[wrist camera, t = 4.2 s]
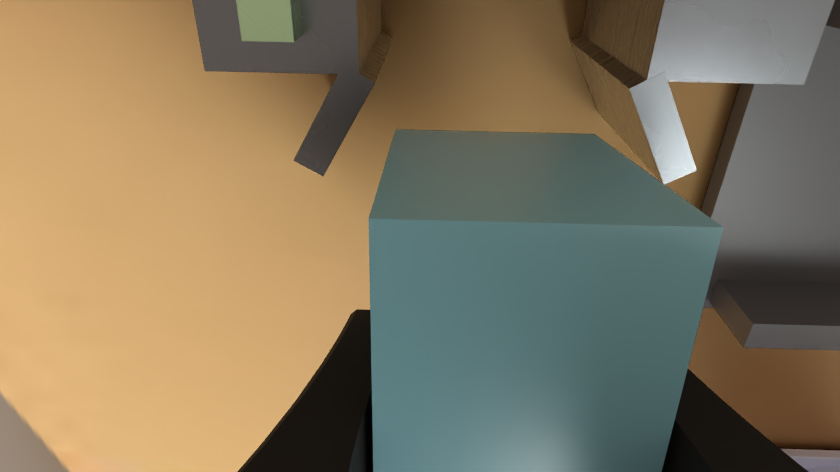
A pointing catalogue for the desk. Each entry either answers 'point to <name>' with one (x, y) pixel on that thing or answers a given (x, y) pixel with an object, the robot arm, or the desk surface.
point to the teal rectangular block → (529, 304)
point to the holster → (781, 209)
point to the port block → (595, 49)
